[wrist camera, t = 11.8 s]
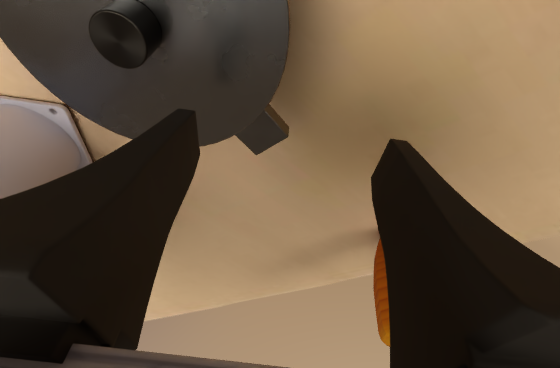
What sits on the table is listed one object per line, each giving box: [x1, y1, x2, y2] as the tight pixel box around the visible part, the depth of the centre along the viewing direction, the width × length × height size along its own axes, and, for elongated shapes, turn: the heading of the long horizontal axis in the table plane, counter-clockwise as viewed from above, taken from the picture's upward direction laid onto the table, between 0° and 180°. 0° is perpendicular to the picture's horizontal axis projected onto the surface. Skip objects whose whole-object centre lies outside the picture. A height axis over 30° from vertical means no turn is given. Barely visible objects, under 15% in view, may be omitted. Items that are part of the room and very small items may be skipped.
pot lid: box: [0, 0, 290, 146], centre depth 11 cm, size 12×12×2 cm
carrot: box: [374, 239, 390, 347], centre depth 25 cm, size 5×5×15 cm
